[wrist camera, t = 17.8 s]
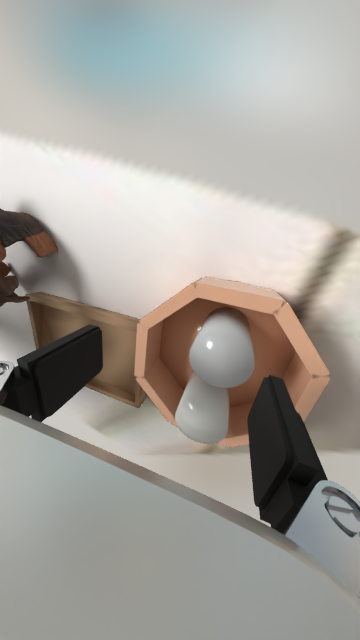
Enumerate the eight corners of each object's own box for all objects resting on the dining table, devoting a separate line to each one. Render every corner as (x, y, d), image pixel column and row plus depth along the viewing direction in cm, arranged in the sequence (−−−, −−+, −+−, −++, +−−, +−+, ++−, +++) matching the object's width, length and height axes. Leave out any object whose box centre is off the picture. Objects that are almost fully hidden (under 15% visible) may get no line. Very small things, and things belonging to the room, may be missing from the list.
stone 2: (191, 358, 18) (174, 396, 13) (232, 364, 17) (229, 408, 12) (191, 390, 19) (175, 435, 14) (228, 397, 18) (225, 449, 13)
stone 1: (209, 302, 16) (195, 324, 11) (255, 313, 15) (264, 342, 10) (200, 341, 17) (184, 376, 12) (242, 353, 16) (243, 396, 11)
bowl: (151, 381, 22) (132, 408, 18) (163, 266, 17) (140, 270, 13) (268, 424, 19) (276, 467, 15) (331, 299, 13) (368, 317, 10)
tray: (52, 361, 27) (40, 368, 25) (40, 291, 23) (25, 294, 21) (145, 397, 23) (138, 408, 22) (152, 322, 19) (144, 329, 17)
